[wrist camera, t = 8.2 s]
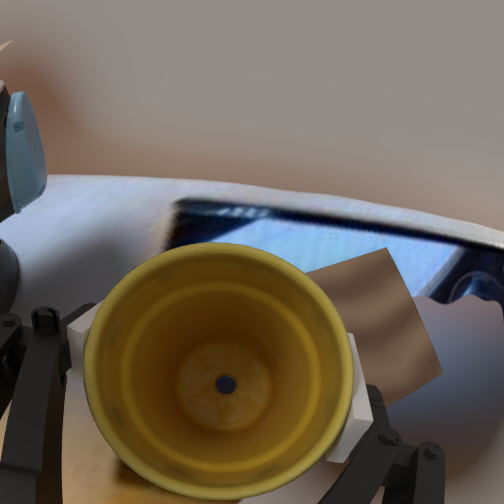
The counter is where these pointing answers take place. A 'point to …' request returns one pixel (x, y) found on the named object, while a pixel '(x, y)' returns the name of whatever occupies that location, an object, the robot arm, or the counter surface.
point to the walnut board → (381, 323)
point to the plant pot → (218, 371)
